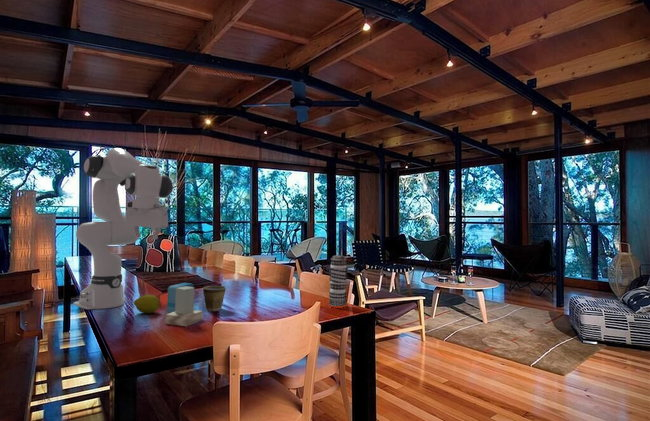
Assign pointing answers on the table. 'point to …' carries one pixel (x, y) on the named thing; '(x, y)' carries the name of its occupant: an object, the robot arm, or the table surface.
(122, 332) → the table surface
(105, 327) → the table surface
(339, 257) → the decorative candle
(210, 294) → the ceramic cup
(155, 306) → the lemon
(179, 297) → the sage block
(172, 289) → the blue rounded box
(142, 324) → the table surface
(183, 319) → the birch block
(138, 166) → the robot arm
